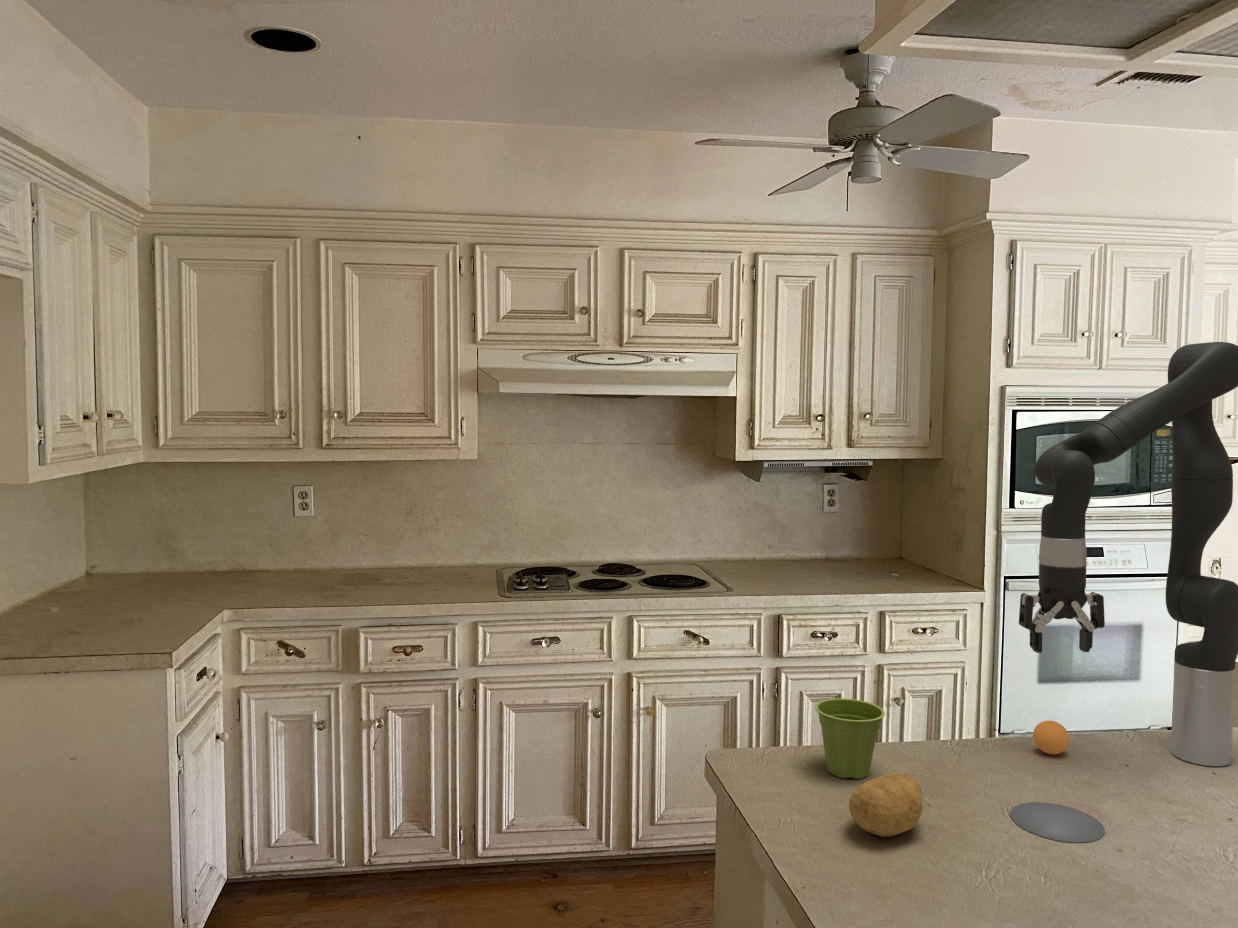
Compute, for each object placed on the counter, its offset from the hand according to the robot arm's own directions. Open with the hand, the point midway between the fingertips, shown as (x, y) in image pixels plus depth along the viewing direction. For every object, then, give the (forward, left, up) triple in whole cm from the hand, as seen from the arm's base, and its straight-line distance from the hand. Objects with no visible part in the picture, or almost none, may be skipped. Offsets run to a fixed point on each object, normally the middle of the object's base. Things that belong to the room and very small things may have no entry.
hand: (1060, 651), depth 157 cm
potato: (+46, -1, -21) cm, 51 cm away
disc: (+23, +12, -20) cm, 33 cm away
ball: (-3, -3, -17) cm, 18 cm away
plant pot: (+34, -19, -21) cm, 44 cm away
